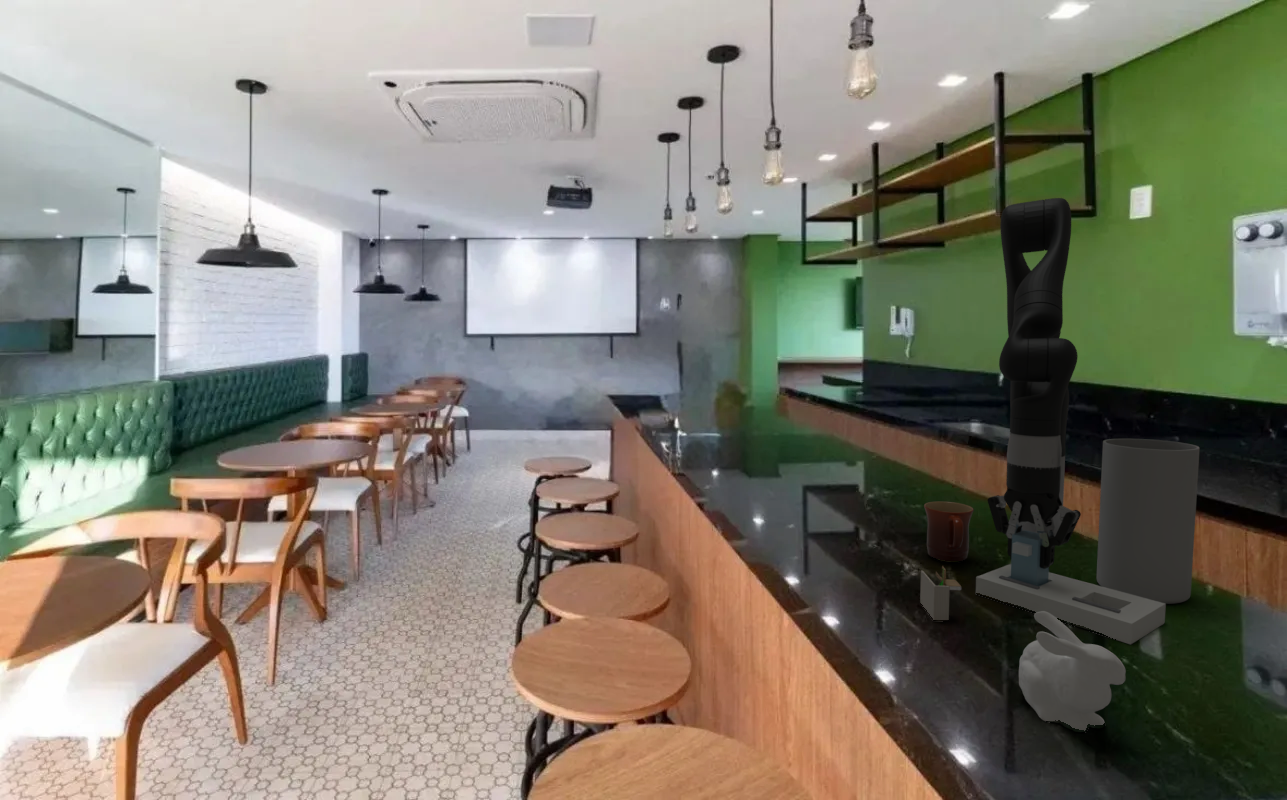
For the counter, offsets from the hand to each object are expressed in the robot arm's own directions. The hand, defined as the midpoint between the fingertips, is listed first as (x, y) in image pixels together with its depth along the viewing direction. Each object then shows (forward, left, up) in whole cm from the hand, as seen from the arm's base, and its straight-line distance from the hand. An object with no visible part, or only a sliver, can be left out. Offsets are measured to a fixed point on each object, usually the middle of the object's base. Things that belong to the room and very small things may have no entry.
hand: (1029, 562), depth 105 cm
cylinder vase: (-18, +10, -6) cm, 21 cm away
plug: (0, 0, -4) cm, 4 cm away
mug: (-6, -17, -6) cm, 19 cm away
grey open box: (+18, -5, -6) cm, 20 cm away
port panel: (0, +6, -6) cm, 8 cm away
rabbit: (+32, +20, -6) cm, 38 cm away
